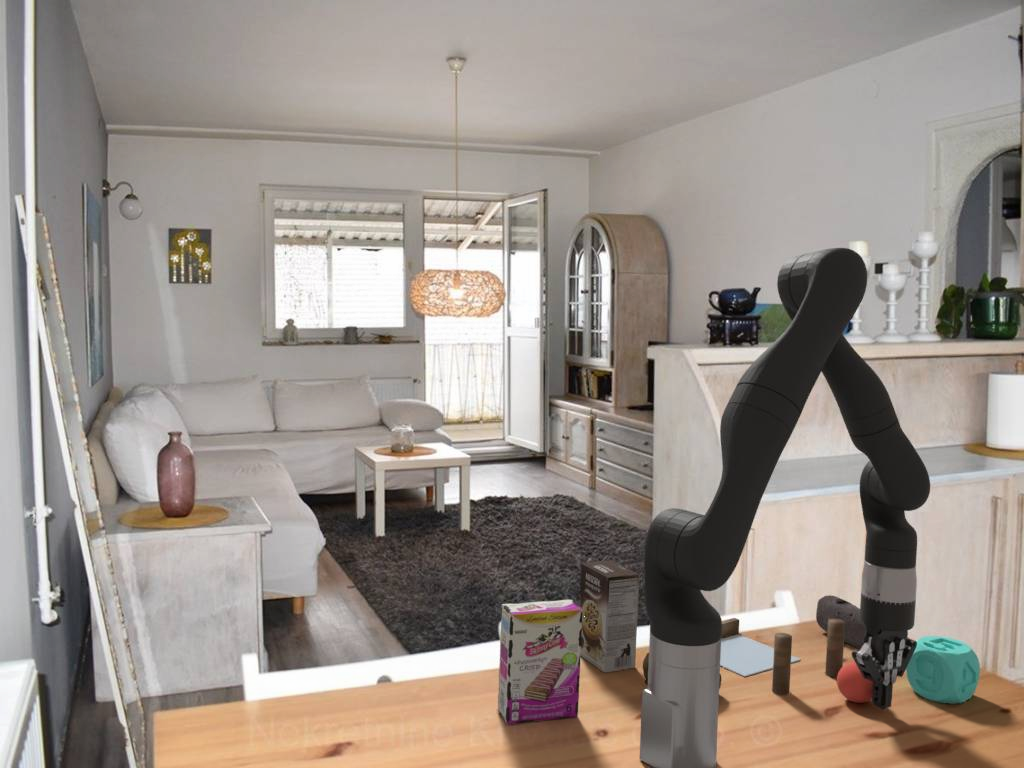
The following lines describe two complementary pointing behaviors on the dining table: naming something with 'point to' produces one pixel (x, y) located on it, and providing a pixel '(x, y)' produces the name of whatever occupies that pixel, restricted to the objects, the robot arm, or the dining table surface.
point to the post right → (834, 647)
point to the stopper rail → (730, 627)
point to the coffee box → (609, 615)
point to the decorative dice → (943, 670)
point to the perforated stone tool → (841, 618)
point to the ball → (854, 684)
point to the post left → (782, 663)
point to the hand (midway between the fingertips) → (881, 706)
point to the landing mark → (746, 655)
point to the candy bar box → (539, 661)
